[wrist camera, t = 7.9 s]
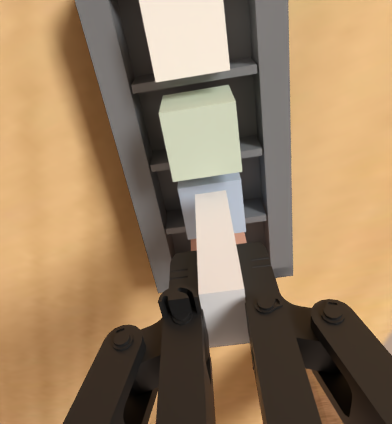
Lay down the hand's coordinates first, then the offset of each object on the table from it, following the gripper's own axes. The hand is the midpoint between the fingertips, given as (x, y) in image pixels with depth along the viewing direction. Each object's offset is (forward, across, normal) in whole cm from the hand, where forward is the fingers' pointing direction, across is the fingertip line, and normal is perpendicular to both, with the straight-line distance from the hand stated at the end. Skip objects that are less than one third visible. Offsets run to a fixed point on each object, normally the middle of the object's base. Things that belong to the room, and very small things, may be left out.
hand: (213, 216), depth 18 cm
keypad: (+5, 0, +2) cm, 6 cm away
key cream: (+4, 0, +8) cm, 9 cm away
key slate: (+4, 0, 0) cm, 4 cm away
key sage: (+3, 0, +4) cm, 5 cm away
